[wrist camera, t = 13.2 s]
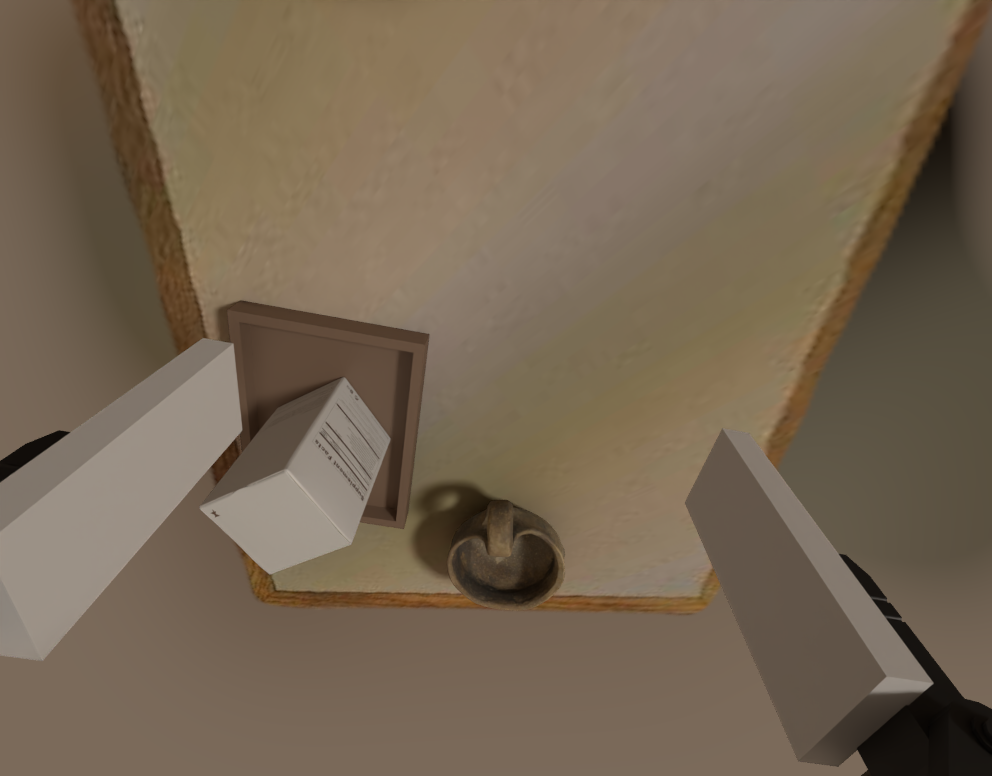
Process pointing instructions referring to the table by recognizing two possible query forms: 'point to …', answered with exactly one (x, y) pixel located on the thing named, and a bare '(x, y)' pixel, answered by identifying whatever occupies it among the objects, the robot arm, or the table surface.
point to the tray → (323, 359)
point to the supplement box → (302, 479)
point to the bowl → (506, 558)
